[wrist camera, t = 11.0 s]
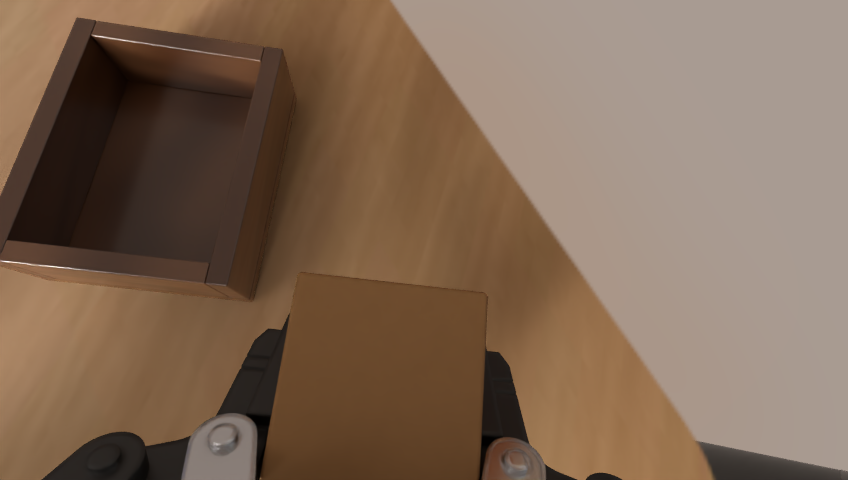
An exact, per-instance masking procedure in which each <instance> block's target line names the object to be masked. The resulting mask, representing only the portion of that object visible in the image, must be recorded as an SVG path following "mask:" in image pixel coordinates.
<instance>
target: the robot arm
mask: <svg viewBox="0 0 848 480" xmlns="http://www.w3.org/2000/svg"><path fill="white" fill-rule="evenodd" d="M289 317H290V314H289V315H288V317H287V319H286V322H285V324H284V326H283V329H282V330H277V329H267V330H266V331H265V332H264V333H262V334H261V335H260V336H259V337H258V338H257V339H255V340H254V342H253V344H252V346H251V348H250V350H249V352H248V354H247V357H246V358H245V360H244V362H243V364H242V367H241V369H240V370H239V372H238V374H237V376H236V378H235V380H234V382H233V384H232V386H231V388H230V390H229V392H228V394H227V396H226V398H225V400H224V401H223V403H222V405H221V407H220V409H219V411H218V413H217V415H216V416H215V417H213V418H211V419H209V420H207V421H205V422H204V423H203V424H201V425H200V426H199V427H198V428H197V429H196V430H195V431H194V433H193V434H192V435H191V436H189V437H186V438H184V439H180V440H176V441H171V442H166V443H161V444H156V445H150V446H145V444H144V442H143V440H142V439H141V438H140V437H139V436H137V435H136V434H133V433H130V432H114V433H109V434H105V435H103V436H100V437H97V438H95V439H93V440H91V441H89V442H88V443H86V444H84V445H83V446H82V447H80V448H79V449H78V450H77V451H75V452H74V453H73V454H72V455H71V456H69V457H68V458H67V459H66V460H65V461H63V462H62V463H61V464H60V465H59V466H57V467H56V468H55V469H54V470H53V471H51V472H50V473H49V474H48V475H47V476H45V477H44V478H43V479H42V480H259V479H260V474H261V469H262V463H263V458H264V452H265V447H266V441H267V436H268V431H269V425H270V420H271V414H272V409H273V404H274V398H275V393H276V387H277V382H278V376H279V371H280V366H281V360H282V355H283V349H284V344H285V339H286V333H287V328H288V322H289ZM479 480H577V479H574V478H572V477H569V476H567V475H564V474H561V473H559V472H557V471H555V470H553V469H551V468H550V467H548V466H547V465H545V464H544V462H543V460H542V458H541V456H540V455H539V453H538V452H537V451H536V450H535V449H534V448H533V447H532V446H530V444H529V441H528V438H527V434H526V430H525V426H524V422H523V418H522V414H521V410H520V406H519V402H518V399H517V395H516V391H515V387H514V383H513V379H512V375H511V371H510V367H509V365H508V363H507V362H506V361H505V360H504V358H503V357H502V356H501V354H500V353H499V352H491V351H487V349H486V348H485V370H484V392H483V413H482V435H481V457H480V478H479ZM586 480H622V479H620V478H618V477H616V476H614V475H611V474H607V473H595V474H592V475H590V476H589V477H587V479H586Z"/></svg>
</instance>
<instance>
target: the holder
mask: <svg viewBox="0 0 848 480" xmlns="http://www.w3.org/2000/svg"><path fill="white" fill-rule="evenodd" d="M295 104H296V95H295V91H294V88H293V84H292V81H291V77H290V73H289V70H288V66H287V63H286V59H285V56H284V52H283V50H282V49H278V48H272V47H265V48H264V47H263V46H258V45H252V44H245V43H239V42H232V41H225V40H219V39H212V38H206V37H199V36H193V35H186V34H180V33H173V32H167V31H160V30H153V29H147V28H140V27H134V26H127V25H121V24H114V23H108V22H101V21H95V20H90V19H83V18H76V20H75V23H74V25H73V27H72V30H71V32H70V34H69V37H68V39H67V41H66V44H65V46H64V48H63V51H62V53H61V55H60V58H59V60H58V62H57V65H56V67H55V69H54V72H53V74H52V76H51V79H50V81H49V83H48V86H47V88H46V90H45V93H44V95H43V97H42V100H41V102H40V104H39V107H38V109H37V111H36V114H35V116H34V118H33V121H32V123H31V125H30V128H29V130H28V132H27V135H26V137H25V139H24V142H23V144H22V146H21V149H20V151H19V153H18V156H17V158H16V161H15V163H14V165H13V168H12V170H11V172H10V175H9V177H8V179H7V182H6V184H5V186H4V189H3V191H2V193H1V196H0V266H2V267H5V268H8V269H12V270H15V271H19V272H22V273H26V274H29V275H32V276H36V277H40V278H43V279H46V280H53V281H63V282H72V283H81V284H90V285H100V286H109V287H118V288H127V289H137V290H146V291H155V292H164V293H174V294H183V295H192V296H201V297H211V298H220V299H229V300H238V301H247V302H252V301H253V299H254V294H255V289H256V285H257V280H258V276H259V271H260V266H261V262H262V257H263V252H264V248H265V243H266V238H267V234H268V229H269V225H270V220H271V215H272V211H273V206H274V201H275V197H276V192H277V187H278V183H279V178H280V174H281V169H282V164H283V160H284V155H285V150H286V146H287V141H288V136H289V132H290V127H291V123H292V118H293V113H294V109H295Z"/></svg>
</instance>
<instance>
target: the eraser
mask: <svg viewBox="0 0 848 480" xmlns="http://www.w3.org/2000/svg"><path fill="white" fill-rule="evenodd" d="M487 305H488V296H487V294H486V293H483V292H475V291H466V290H457V289H448V288H439V287H430V286H421V285H412V284H403V283H394V282H385V281H377V280H368V279H359V278H350V277H341V276H332V275H323V274H314V273H305V272H301V273H299V274H298V275H297V279H296V284H295V290H294V295H293V301H292V306H291V311H290V317H289V322H288V328H287V333H286V339H285V344H284V349H283V355H282V360H281V366H280V371H279V376H278V382H277V387H276V393H275V398H274V404H273V409H272V414H271V420H270V425H269V431H268V436H267V441H266V447H265V452H264V458H263V463H262V469H261V474H260V479H259V480H479V478H480V457H481V435H482V413H483V392H484V370H485V348H486V327H487Z"/></svg>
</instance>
